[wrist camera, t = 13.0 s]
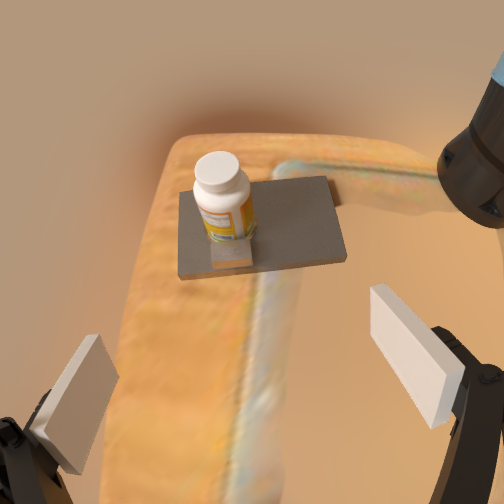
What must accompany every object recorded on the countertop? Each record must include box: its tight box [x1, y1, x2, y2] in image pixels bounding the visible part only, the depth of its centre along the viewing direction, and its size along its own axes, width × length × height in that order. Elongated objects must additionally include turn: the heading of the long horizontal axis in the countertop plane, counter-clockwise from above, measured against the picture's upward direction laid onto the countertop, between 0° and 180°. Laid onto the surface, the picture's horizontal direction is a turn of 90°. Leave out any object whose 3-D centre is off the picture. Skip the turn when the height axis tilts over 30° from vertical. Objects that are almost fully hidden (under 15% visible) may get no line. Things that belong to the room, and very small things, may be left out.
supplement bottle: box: [193, 151, 254, 242], centre depth 31 cm, size 5×5×10 cm
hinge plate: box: [178, 176, 347, 281], centre depth 35 cm, size 18×11×4 cm, turn 95°
